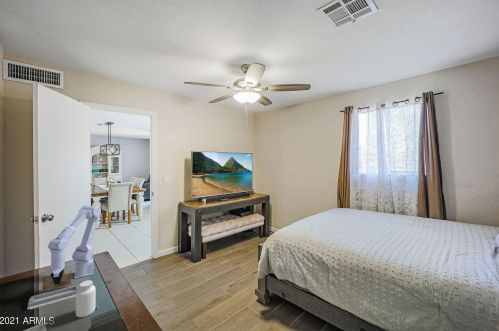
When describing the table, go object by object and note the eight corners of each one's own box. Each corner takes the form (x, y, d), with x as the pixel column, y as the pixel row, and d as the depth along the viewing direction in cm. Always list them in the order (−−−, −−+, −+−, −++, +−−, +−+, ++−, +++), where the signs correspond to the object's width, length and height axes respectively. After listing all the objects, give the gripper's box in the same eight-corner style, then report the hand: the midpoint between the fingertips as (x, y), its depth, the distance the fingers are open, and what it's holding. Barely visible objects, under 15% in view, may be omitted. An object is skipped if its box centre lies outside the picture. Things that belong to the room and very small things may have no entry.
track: (79, 287, 123) (79, 283, 123) (79, 295, 117) (79, 290, 117) (31, 300, 111) (31, 295, 111) (27, 310, 105) (27, 304, 105)
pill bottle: (82, 306, 110) (83, 278, 109) (98, 306, 110) (99, 278, 110) (71, 318, 102) (71, 288, 101) (88, 317, 103) (89, 288, 102)
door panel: (71, 282, 125) (71, 270, 125) (71, 284, 123) (71, 272, 123) (43, 289, 118) (43, 277, 117) (42, 291, 116) (42, 279, 115)
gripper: (50, 255, 123) (50, 278, 123) (46, 267, 111) (46, 292, 112) (66, 253, 127) (65, 274, 128) (63, 264, 115) (63, 287, 116)
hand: (57, 282), depth 120 cm, fingers closed on door panel, 2 cm apart
